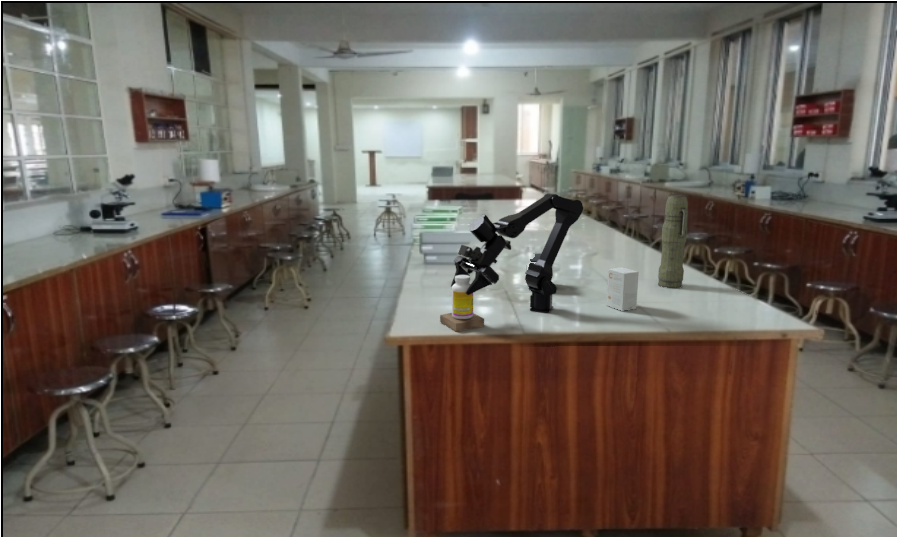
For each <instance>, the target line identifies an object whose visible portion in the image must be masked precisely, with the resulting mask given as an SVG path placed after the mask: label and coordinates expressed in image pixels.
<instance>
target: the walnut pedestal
mask: <svg viewBox="0 0 897 537" xmlns="http://www.w3.org/2000/svg"><path fill="white" fill-rule="evenodd" d="M440 322H441V323H440ZM439 323H440V324H441V325H444V326H445V325H446V326H445V327H447V328H448V329H450V328H451V329H450V330H453V331H454V332H461V331H467V330H473V329H477V328H478V329H479V328H481V327H482V328H484V327H485V318H484V317H481V316H480V315H478V314H476V313H474V312H473V317H471V318H469V319H456V318H454V317H453V316H452V312H450V313H445V314H444V313H443V314H440V315H439Z"/></svg>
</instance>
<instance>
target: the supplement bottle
mask: <svg viewBox="0 0 897 537" xmlns="http://www.w3.org/2000/svg"><path fill="white" fill-rule="evenodd" d="M454 276H455V275H454ZM455 282H456V283H455V284H454V285H453V286H452V287H451V313H452V316H453V317H454V318H456V319H469V318H471V317H473V313H474V293H472V294H470V295H467V294H466V291H467V290H468V288H469V286H470V285H471V283H470V282H471V275H470V276H468V275H457V276H455Z"/></svg>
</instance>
